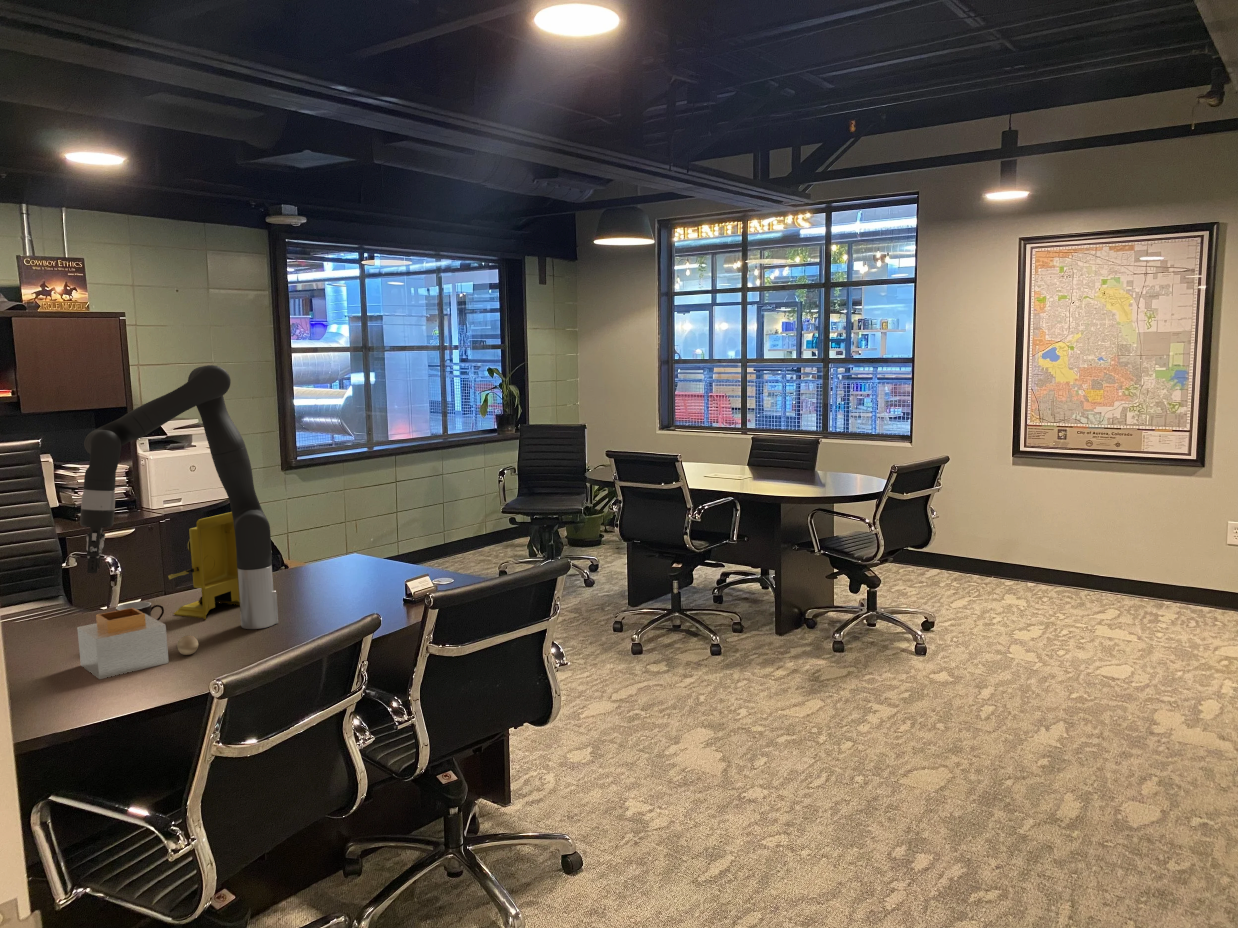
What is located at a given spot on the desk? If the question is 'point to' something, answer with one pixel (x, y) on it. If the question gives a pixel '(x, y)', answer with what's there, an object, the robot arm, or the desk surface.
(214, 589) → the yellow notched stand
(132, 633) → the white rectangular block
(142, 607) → the coffee mug
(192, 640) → the wooden ball
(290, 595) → the desk surface
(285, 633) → the desk surface
